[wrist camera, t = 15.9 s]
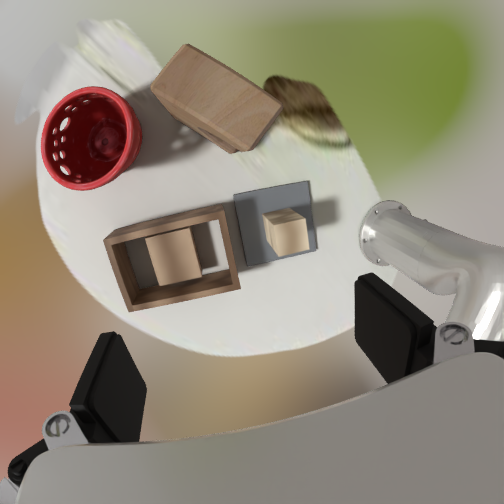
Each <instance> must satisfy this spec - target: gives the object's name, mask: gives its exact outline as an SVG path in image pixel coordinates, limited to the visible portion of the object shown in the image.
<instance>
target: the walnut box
mask: <svg viewBox="0 0 504 504" xmlns="http://www.w3.org/2000/svg"><path fill="white" fill-rule="evenodd" d="M217 219H219V224H220V228H221V233H222V238H223V242H224V247H225V251H226V256H227V260H228V265H229V270H224V271H220V272H215V273H211V274H206V275H202V268H201V264H200V260H199V257H198V253H197V249H196V245H195V241H194V237H193V232H192V228H191V225H195V224H199V223H203V222H208V221H212V220H217ZM144 236H147V237H146V238H145V240H146V244H147V247H148V251H149V254H150V257H151V261H152V264H153V267H154V270H155V273H156V277H157V280H158V283H159V285H156V286H151V287H147V288H142V289H139V286H138V283H137V280H136V277H135V274H134V271H133V268H132V265H131V262H130V259H129V256H128V253H127V250H126V246H125V243H124V242H125V241H128V240H132V239H136V238H140V237H144ZM103 241H104V244H105V248H106V251H107V254H108V257H109V260H110V263H111V266H112V269H113V272H114V274H115V277H116V280H117V283H118V286H119V288H120V291H121V294H122V296H123V299H124V301H125V304H126V306H127V309H128V311H129V312H133V311H138V310H143V309H148V308H153V307H158V306H163V305H168V304H173V303H178V302H183V301H188V300H192V299H197V298H202V297H206V296H211V295H215V294H220V293H224V292H229V291H233V290H238V289H241V287H240V282H239V278H238V273H237V269H236V264H235V259H234V255H233V250H232V245H231V241H230V236H229V231H228V226H227V222H226V217H225V212H224V208H223V206H222V204H218V205H213V206H209V207H204V208H200V209H196V210H191V211H187V212H183V213H178V214H174V215H170V216H166V217H162V218H158V219H154V220H150V221H146V222H142V223H138V224H134V225H131V226H127V227H123V228H119V229H116V230H114V231H113V232H112V233H110V234H109V235H108V236H107V237H106V238H105V239H104V240H103Z"/></svg>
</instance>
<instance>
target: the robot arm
mask: <svg viewBox="0 0 504 504" xmlns="http://www.w3.org/2000/svg"><path fill="white" fill-rule="evenodd" d="M359 242H360V247H361V250H362V252H363V254H364V256H365V257H366V258H367V259H368V260H369V261H371V262H372V263H373V264H376V265H379V266H388V265H391V266H393V267H394V268H396V269H397V270H399V271H400V272H402V273H403V274H405V275H406V276H408V277H409V278H411V279H412V280H414V281H415V282H416V283H418V284H419V285H421V286H422V287H423V288H425V289H426V290H428V291H429V292H431V293H433V294H436V295H451V294H454V293H456V296H455V299H454V301H453V305H452V308H451V310H450V312H449V314H448V317H447V319H446V321H445V323H443V324H441V325H440V326H439V327H438V328H437V327H436V326H435V325H434V324H433V323H434V321H433V320H432V319H430V318H429V317H428V316H427V315H426V314H424V313H423V312H422V311H421V310H419V309H418V308H417V307H416V306H414V305H413V304H412V303H411V302H410V301H408V300H407V299H406V298H405V297H403V296H402V295H401V294H400V293H398V292H397V291H396V290H395V289H393V288H392V287H391V286H389V285H388V284H387V283H386V282H384V281H383V280H382V279H380V278H379V277H378V276H377V275H375V274H374V273H368V274H365V275H361V276H359V277H358V280H357V281H355V339H356V342H357V344H358V345H359V346H360V348H361V349H362V350H363V352H364V353H365V354H366V356H367V357H368V358H369V359H370V361H371V362H372V363H373V365H374V366H375V367H376V368H377V370H378V371H379V373H380V374H381V375H382V377H383V378H384V379H385V381H386V382H387V383H388V384H387V385H385V386H382V387H380V388H377V389H375V390H372V391H370V392H368V393H365V394H362V395H359V396H357V397H354V398H351V399H349V400H346V401H343V402H340V403H337V404H334V405H331V406H328V407H325V408H322V409H319V410H315V411H312V412H309V413H305V414H302V415H298V416H295V417H291V418H288V419H284V420H280V421H276V422H272V423H268V424H264V425H259V426H255V427H250V428H245V429H240V430H235V431H229V432H223V433H218V434H211V435H205V436H198V437H190V438H181V439H172V440H160V441H146V442H139V439H140V432H141V424H142V418H143V411H144V405H145V398H146V393H147V388H146V384H145V382H144V380H143V379H142V376H141V375H140V373H139V371H138V369H137V367H136V365H135V363H134V361H133V359H132V357H131V355H130V353H129V351H128V349H127V347H126V345H125V343H124V341H123V339H122V337H121V335H119V334H118V335H117V334H116V333H115V332H114V331H113V332H107V333H102V334H100V336H99V338H98V340H97V342H96V345H95V347H94V349H93V351H92V353H91V355H90V357H89V359H88V362H87V364H86V366H85V368H84V371H83V373H82V375H81V378H80V380H79V382H78V384H77V387H76V389H75V391H74V394H73V396H72V399H71V401H70V404H69V405H70V407H71V410H70V412H67V411H58V412H55V413H53V414H52V415H50V416H49V417H48V418H47V419H46V420H45V422H44V424H43V427H42V434H43V437H44V439H42V440H41V441H39V442H38V443H36V444H35V445H33V446H32V447H30V448H28V449H27V450H25V451H24V452H22V453H21V454H20V455H18V456H16V457H15V458H14V459H13V460H12V461H11V463H10V464H9V467H8V477H9V479H7V478H5V477H4V479H3V480H2V481H1V482H0V504H504V247H500V246H496V245H491V244H487V243H483V242H479V241H475V240H473V239H470V238H467V237H464V236H462V235H459V234H457V233H454V232H452V231H450V230H447V229H444V228H442V227H439V226H437V225H435V224H432V223H429V222H428V221H427V220H421V219H419V218H416V217H414V216H412V215H411V213H410V211H409V210H408V209H407V208H406V207H405V206H404V205H403V204H401V203H399V202H396V201H390V200H388V201H383V202H380V203H378V204H377V205H375V206H374V207H373V208H372V209H371V210H370V211H369V212H368V213H367V215H366V216H365V218H364V220H363V222H362V225H361V228H360V234H359Z"/></svg>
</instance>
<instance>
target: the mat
mask: <svg viewBox="0 0 504 504" xmlns="http://www.w3.org/2000/svg"><path fill="white" fill-rule="evenodd" d="M233 196H234V201H235V206H236V211H237V216H238V222H239V227H240V232H241V237H242V242H243V247H244V252H245V257H246V262H247V266H253V265H257V264H262V263H266V262H270V261H275V260H279V259H283V258H288V257H292V256H296V255H301V254H305V253H309V252H314V251H316V245H315V236H314V227H313V219H312V211H311V203H310V196H309V189H308V182H307V181H303V182H298V183H292V184H286V185H281V186H275V187H270V188H265V189H259V190H254V191H249V192H244V193H239V194H235V195H233ZM287 208H290V209H292V210H293V211H295V212H296V213H298V214H299V215H301V216H303V217H304V218H305V219H306V226H307V233H308V241H309V250H305V251H301V252H297V253H293V254H288V255H284V256H280V257H278V255H277V254H276V252H275V251H274V250H273V248H272V247H271V245H270V244H269V243H268V241H267V238H266V232H265V227H264V222H263V216H262V214H263V213H268V212H272V211H277V210H282V209H287Z"/></svg>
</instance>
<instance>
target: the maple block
mask: <svg viewBox="0 0 504 504" xmlns="http://www.w3.org/2000/svg"><path fill="white" fill-rule="evenodd" d="M262 216H263V222H264V227H265V232H266V238H267V241H268V243H269V244H270V245H271V247H272V248H273V250H274V251H275V252H276V254H277V255H278V257H280V256H284V255H288V254H293V253H297V252H301V251H305V250H309V241H308V233H307V226H306V219H305V218H304V217H303V216H301V215H299V214H298V213H296V212H295V211H293V210H292V209H290V208H287V209H282V210H277V211H272V212H268V213H263V214H262Z"/></svg>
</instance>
